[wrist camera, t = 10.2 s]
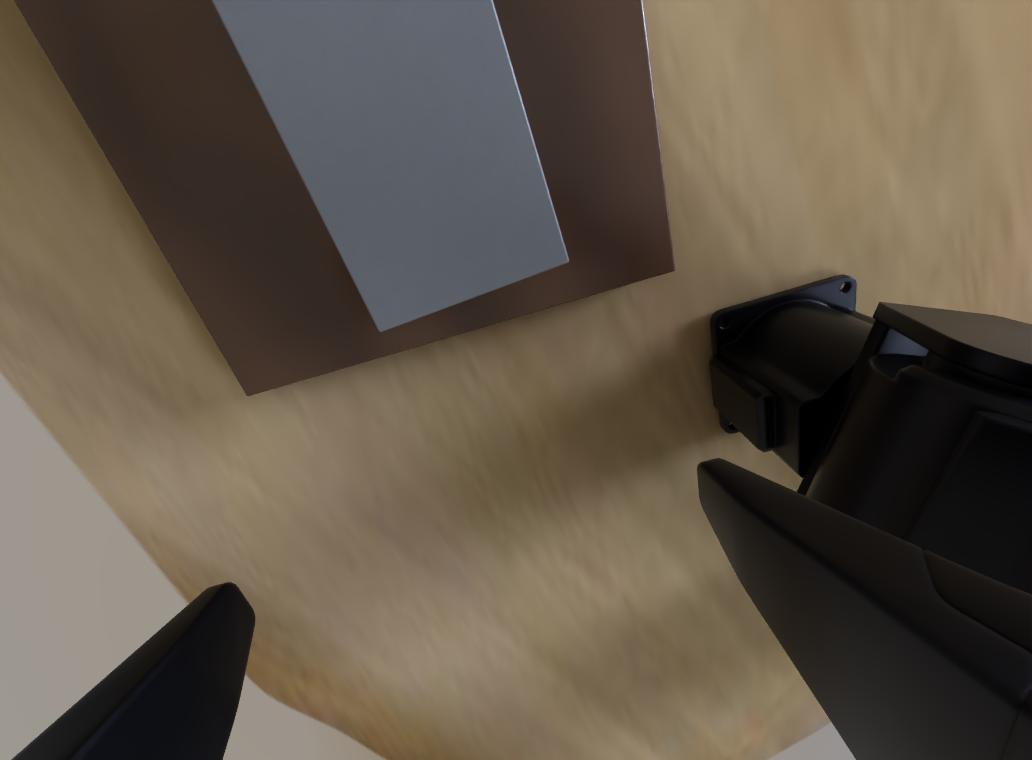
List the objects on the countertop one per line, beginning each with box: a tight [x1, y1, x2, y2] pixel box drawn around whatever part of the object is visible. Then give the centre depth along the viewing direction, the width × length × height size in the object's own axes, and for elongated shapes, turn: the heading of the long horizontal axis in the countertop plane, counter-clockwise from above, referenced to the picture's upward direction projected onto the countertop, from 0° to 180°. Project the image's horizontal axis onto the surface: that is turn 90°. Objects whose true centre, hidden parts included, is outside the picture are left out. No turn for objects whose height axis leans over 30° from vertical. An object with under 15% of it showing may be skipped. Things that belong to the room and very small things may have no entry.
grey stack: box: [211, 0, 569, 332], centre depth 14 cm, size 7×11×4 cm, turn 15°
